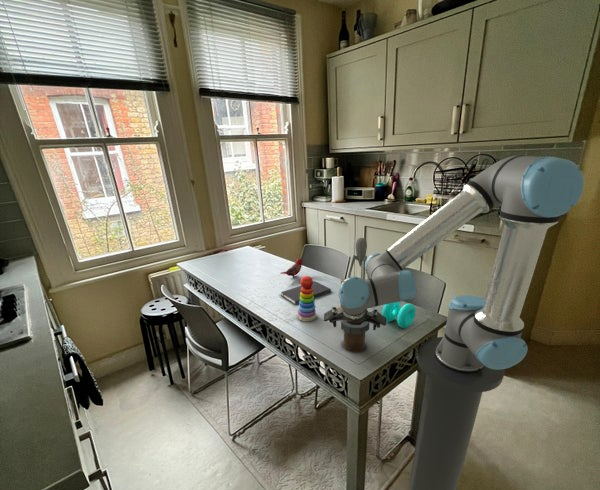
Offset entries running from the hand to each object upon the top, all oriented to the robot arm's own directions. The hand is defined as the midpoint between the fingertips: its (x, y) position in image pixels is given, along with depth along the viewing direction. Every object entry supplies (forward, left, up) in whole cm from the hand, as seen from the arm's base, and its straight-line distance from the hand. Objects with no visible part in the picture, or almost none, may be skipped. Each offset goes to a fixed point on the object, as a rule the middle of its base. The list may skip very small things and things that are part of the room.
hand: (354, 324), depth 111 cm
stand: (0, 0, -8) cm, 8 cm away
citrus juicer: (+20, -28, -9) cm, 35 cm away
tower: (+18, -14, -8) cm, 24 cm away
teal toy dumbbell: (-2, -24, -9) cm, 25 cm away
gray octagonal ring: (0, 0, 0) cm, 1 cm away
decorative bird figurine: (+64, -23, -9) cm, 68 cm away
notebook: (+45, -16, -9) cm, 48 cm away
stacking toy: (+27, -1, -9) cm, 28 cm away
